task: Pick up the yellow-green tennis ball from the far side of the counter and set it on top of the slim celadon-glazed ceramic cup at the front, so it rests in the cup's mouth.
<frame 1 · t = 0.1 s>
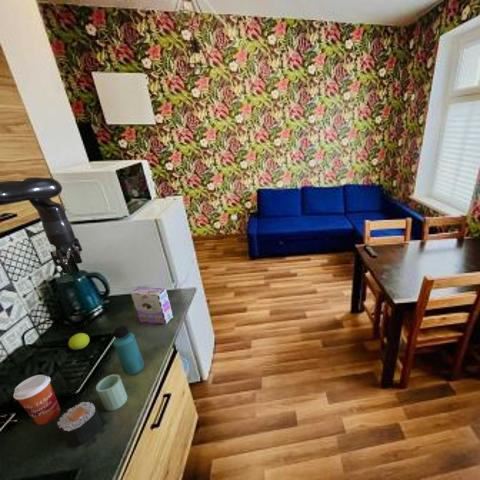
hand: (73, 268, 107), 31 cm above the kitchen counter, tool pointing down, fingers open, 8 cm apart
beverage bottle: (135, 371, 99), on the kitchen counter
ball: (79, 341, 108), point 3 cm above the kitchen counter
ceramic cup: (116, 401, 88), on the kitchen counter
sushi: (85, 431, 80), on the kitchen counter
candy box: (156, 320, 126), on the kitchen counter
paper cup: (49, 416, 84), on the kitchen counter
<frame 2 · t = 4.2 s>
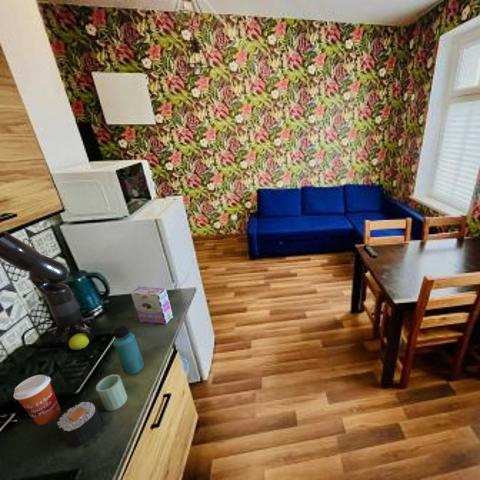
hand: (80, 343, 109), 2 cm above the kitchen counter, tool pointing down, fingers closed on ball, 6 cm apart
ball: (79, 341, 108), point 3 cm above the kitchen counter, touching gripper
everything else where it was.
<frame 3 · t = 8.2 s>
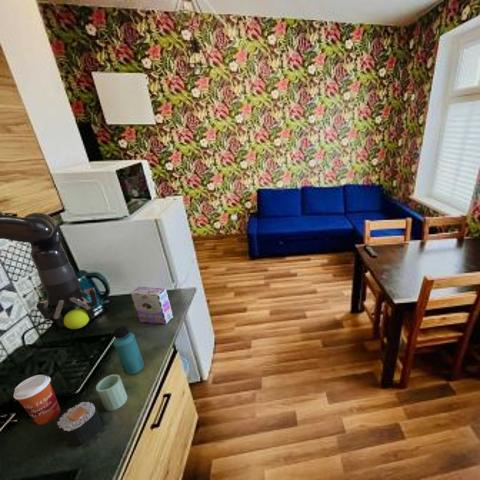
hand: (77, 321, 88), 25 cm above the kitchen counter, tool pointing down, fingers closed on ball, 6 cm apart
ball: (76, 318, 87), point 26 cm above the kitchen counter, touching gripper
everything else where it was.
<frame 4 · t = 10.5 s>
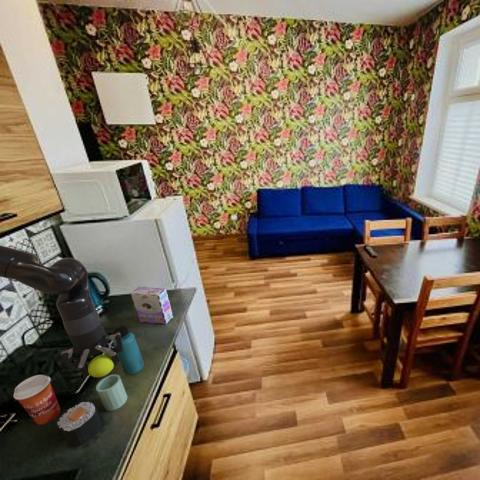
hand: (102, 368, 82), 15 cm above the kitchen counter, tool pointing down, fingers closed on ball, 6 cm apart
ball: (101, 365, 82), point 16 cm above the kitchen counter, touching gripper
everything else where it was.
when the fingers open (10 cm above the kitchen counter, at t = 12.4 s): ball stays where it is, resting on ceramic cup.
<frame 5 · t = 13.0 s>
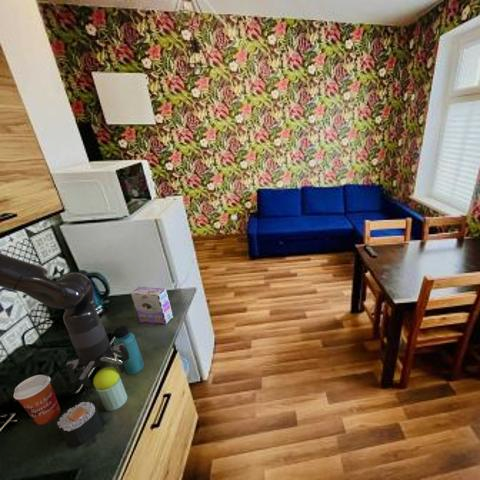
hand: (106, 377, 84), 11 cm above the kitchen counter, tool pointing down, fingers open, 8 cm apart
ball: (106, 378, 84), point 11 cm above the kitchen counter, touching ceramic cup
ceramic cup: (116, 401, 88), on the kitchen counter, touching ball
everything else where it was.
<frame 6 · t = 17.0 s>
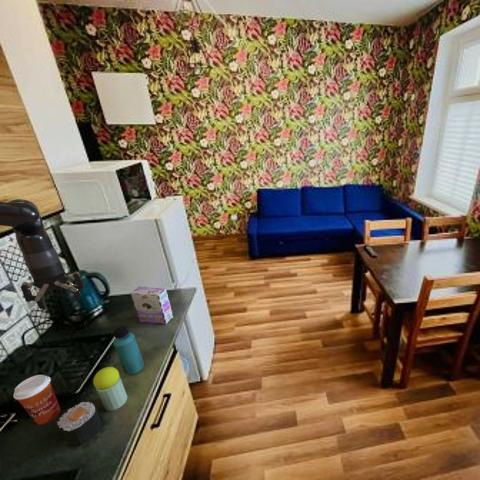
hand: (62, 304, 91), 28 cm above the kitchen counter, tool pointing down, fingers open, 8 cm apart
nothing on the kitchen counter moved.
at the end: ball 0.0 cm off-centre on the ceramic cup, point 11.0 cm above the ceramic cup's base; the gripper is holding nothing; ceramic cup tilted 0° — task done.
